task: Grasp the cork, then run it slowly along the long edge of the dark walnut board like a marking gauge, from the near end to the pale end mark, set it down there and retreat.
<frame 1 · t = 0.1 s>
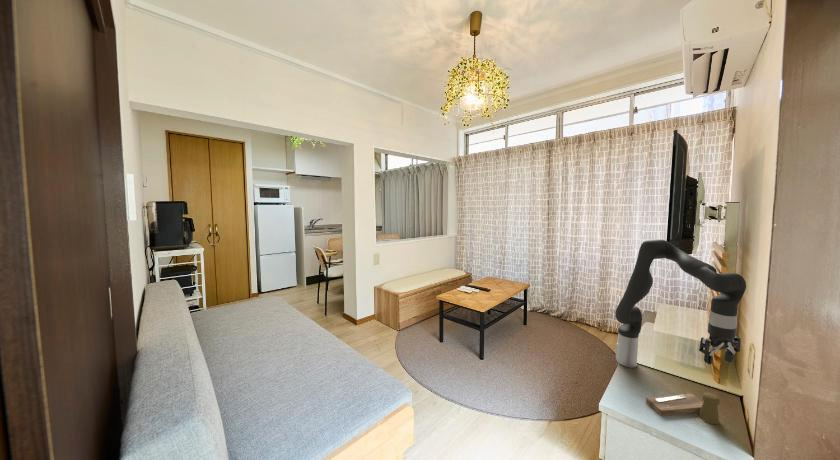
hand: (718, 362, 114), 29 cm above the tv stand, fingers open, 8 cm apart
walnut board: (676, 406, 129), on the tv stand
steel ruler: (670, 398, 131), point 2 cm above the tv stand, touching walnut board
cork: (708, 419, 122), on the tv stand
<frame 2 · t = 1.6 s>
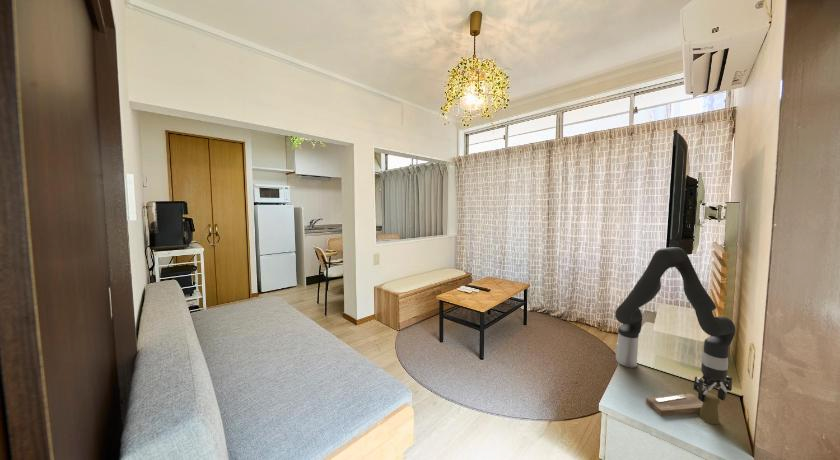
hand: (711, 400, 121), 9 cm above the tv stand, fingers open, 8 cm apart
nothing on the tv stand moved.
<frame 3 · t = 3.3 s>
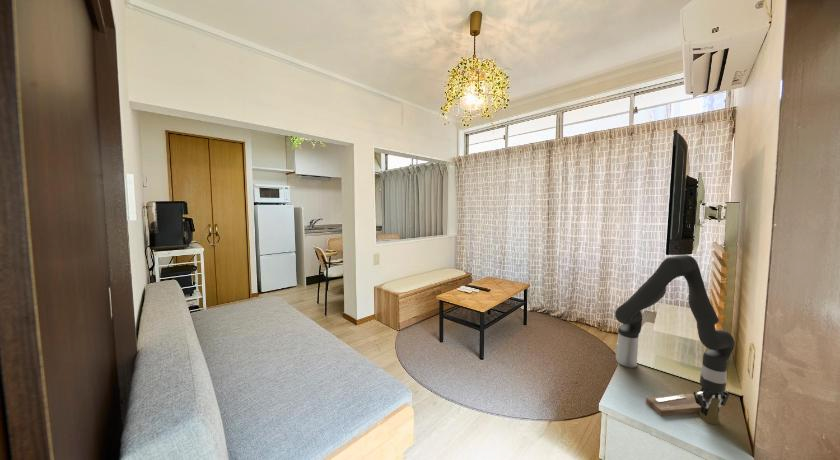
hand: (709, 413, 122), 2 cm above the tv stand, fingers closed on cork, 4 cm apart
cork: (708, 419, 122), on the tv stand, touching gripper
everything else where it was.
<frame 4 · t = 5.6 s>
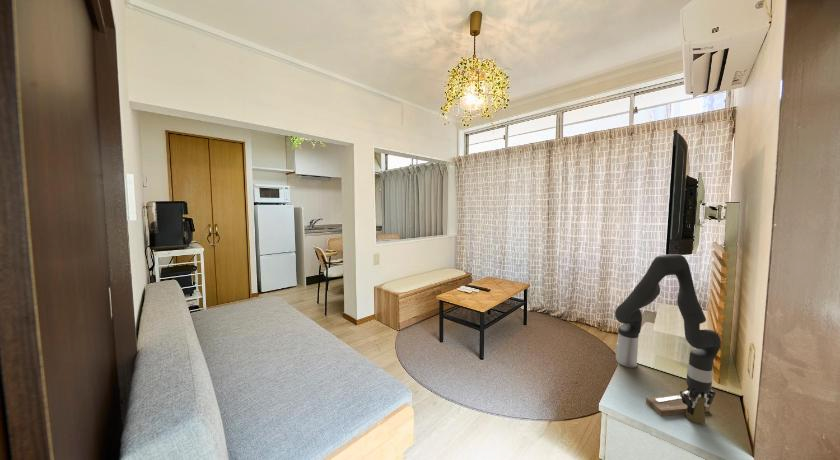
hand: (695, 413, 121), 3 cm above the tv stand, fingers closed on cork, 4 cm apart
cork: (695, 418, 122), point 1 cm above the tv stand, touching gripper
everything else where it was.
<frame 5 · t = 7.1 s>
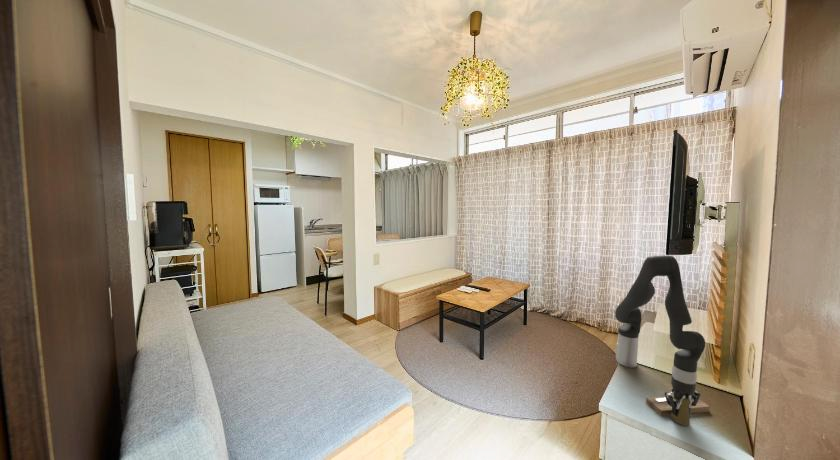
hand: (680, 414, 121), 3 cm above the tv stand, fingers closed on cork, 4 cm apart
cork: (680, 419, 121), point 1 cm above the tv stand, touching gripper
everything else where it was.
when the fingers open (2 cm above the tv stand, at t = 8.2 s): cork stays where it is, on the tv stand.
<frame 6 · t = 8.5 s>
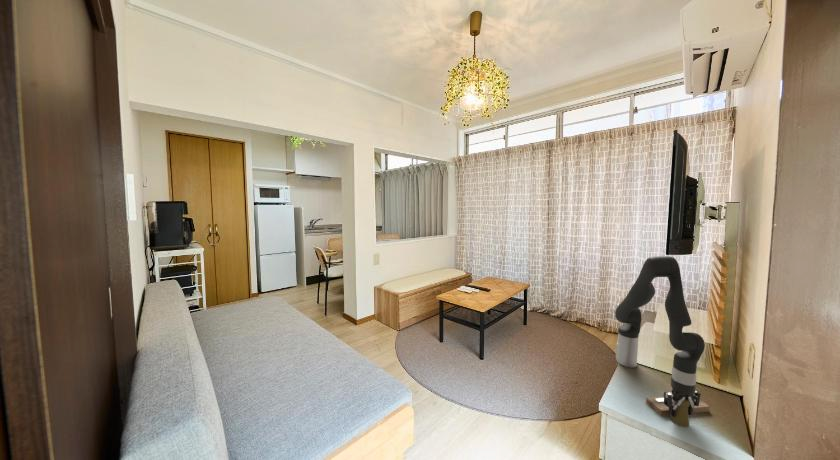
hand: (680, 414, 121), 3 cm above the tv stand, fingers open, 6 cm apart
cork: (679, 421, 122), on the tv stand
everything else where it was.
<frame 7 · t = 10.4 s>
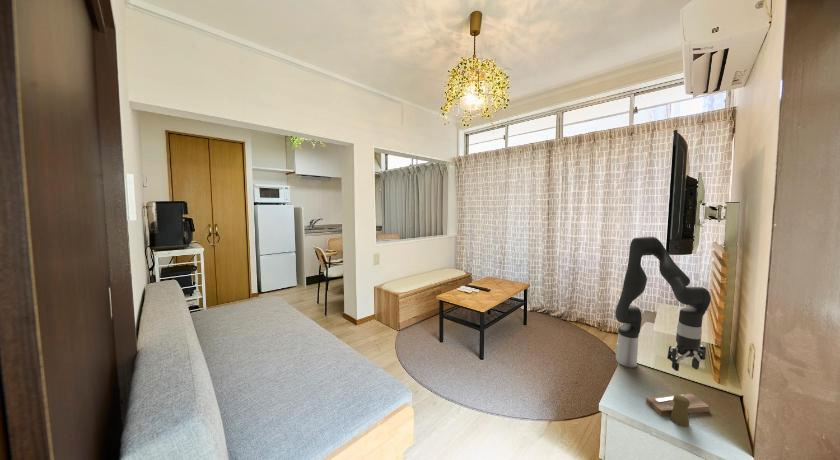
hand: (685, 369, 122), 22 cm above the tv stand, fingers open, 8 cm apart
nothing on the tv stand moved.
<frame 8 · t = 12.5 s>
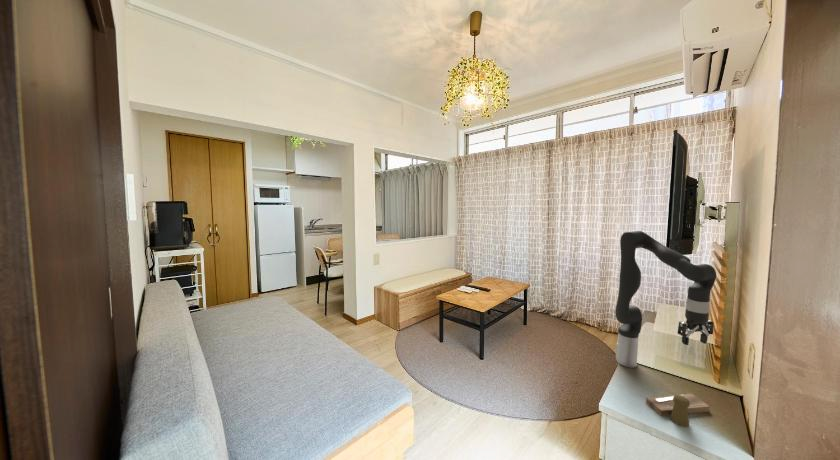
hand: (694, 343, 129), 28 cm above the tv stand, fingers open, 8 cm apart
nothing on the tv stand moved.
at the end: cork 0.1 cm from the target spot, on the tv stand; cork tilted 0°; the gripper is holding nothing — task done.
